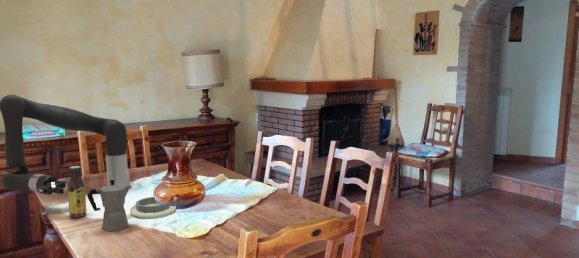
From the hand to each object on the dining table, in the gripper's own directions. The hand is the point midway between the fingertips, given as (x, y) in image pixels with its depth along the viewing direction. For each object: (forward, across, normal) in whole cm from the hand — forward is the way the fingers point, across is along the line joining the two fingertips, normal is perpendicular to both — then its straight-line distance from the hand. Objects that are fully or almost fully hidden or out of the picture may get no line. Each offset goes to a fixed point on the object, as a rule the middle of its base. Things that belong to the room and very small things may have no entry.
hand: (72, 188), depth 181 cm
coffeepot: (+24, -4, +11) cm, 27 cm away
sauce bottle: (+2, 0, +11) cm, 11 cm away
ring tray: (+26, +16, +11) cm, 33 cm away
